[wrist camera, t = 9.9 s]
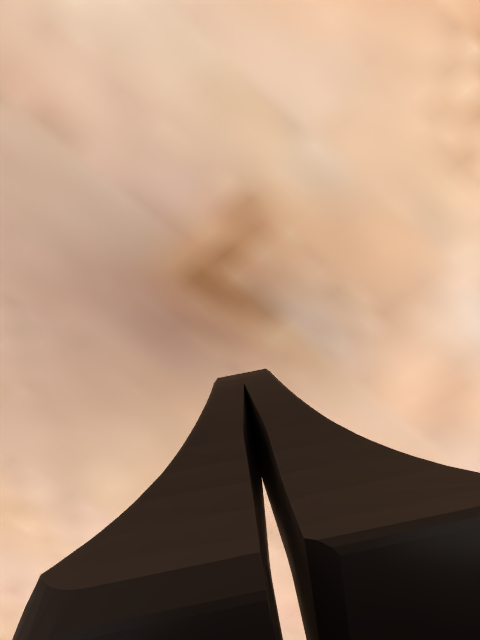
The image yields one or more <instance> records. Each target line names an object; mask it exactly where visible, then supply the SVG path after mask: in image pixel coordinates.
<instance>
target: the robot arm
mask: <svg viewBox="0 0 480 640" xmlns="http://www.w3.org/2000/svg"><path fill="white" fill-rule="evenodd" d="M262 479H263V482H264V486H265V489H266V492H267V495H268V498H269V501H270V504H271V508H272V511H273V514H274V517H275V520H276V523H277V526H278V529H279V532H280V536H281V539H282V542H283V545H284V548H285V551H286V554H287V558H288V561H289V565H290V568H291V572H292V576H293V580H294V585H295V589H296V594H297V598H298V603H299V607H300V612H301V616H302V621H303V625H304V630H305V634H306V639H307V640H480V473H478V472H474V471H469V470H464V469H459V468H454V467H450V466H446V465H442V464H438V463H435V462H431V461H428V460H424V459H421V458H418V457H414V456H411V455H408V454H405V453H402V452H399V451H396V450H393V449H391V448H388V447H386V446H383V445H381V444H378V443H376V442H373V441H371V440H368V439H366V438H364V437H362V436H360V435H357V434H355V433H353V432H352V431H350V430H348V429H346V428H344V427H342V426H340V425H338V424H336V423H334V422H333V421H331V420H329V419H328V418H326V417H325V416H323V415H322V414H320V413H319V412H317V411H316V410H314V409H313V408H311V407H310V406H309V405H307V404H306V403H305V402H304V401H302V400H301V399H300V398H298V397H297V396H296V395H295V394H293V393H292V392H291V391H290V390H289V389H288V388H286V387H285V386H284V385H283V384H282V383H281V382H280V381H279V380H278V379H277V378H276V377H275V376H274V375H273V374H272V373H271V372H270V371H268V370H267V369H262V370H257V371H252V372H247V373H242V374H237V375H231V376H226V377H221V378H218V379H217V380H216V381H215V383H214V385H213V388H212V391H211V394H210V396H209V398H208V401H207V403H206V405H205V407H204V409H203V411H202V413H201V415H200V417H199V419H198V421H197V423H196V425H195V426H194V428H193V430H192V431H191V433H190V435H189V436H188V438H187V440H186V441H185V443H184V444H183V446H182V447H181V449H180V450H179V452H178V453H177V455H176V456H175V457H174V459H173V460H172V462H171V463H170V464H169V465H168V467H167V468H166V469H165V470H164V472H163V473H162V474H161V475H160V476H159V477H158V478H157V479H156V480H155V482H154V483H153V484H152V485H151V486H150V487H149V488H148V489H147V490H146V491H145V492H144V493H143V494H142V495H141V496H140V497H139V498H138V499H137V500H136V501H135V502H134V503H133V504H132V505H131V506H130V507H129V508H128V509H127V510H125V511H124V512H123V513H122V514H121V515H120V516H119V517H118V518H116V519H115V520H114V521H113V522H112V523H110V524H109V525H108V526H107V527H106V528H105V529H103V530H102V531H101V532H100V533H98V534H97V535H96V536H95V537H93V538H92V539H91V540H89V541H88V542H87V543H85V544H84V545H82V546H81V547H80V548H78V549H77V550H76V551H74V552H73V553H71V554H70V555H69V556H67V557H66V558H64V559H63V560H62V561H60V562H59V563H57V564H56V565H55V566H53V567H52V568H50V569H49V570H47V571H46V572H44V573H43V574H41V576H40V578H39V580H38V582H37V584H36V586H35V588H34V590H33V593H32V595H31V597H30V599H29V601H28V603H27V605H26V607H25V609H24V612H23V614H22V617H21V619H20V622H19V624H18V626H17V629H16V632H15V634H14V637H13V640H283V638H282V633H281V627H280V622H279V616H278V611H277V605H276V600H275V594H274V589H273V583H272V577H271V570H270V562H269V552H268V541H267V530H266V519H265V508H264V497H263V486H262Z"/></svg>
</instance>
